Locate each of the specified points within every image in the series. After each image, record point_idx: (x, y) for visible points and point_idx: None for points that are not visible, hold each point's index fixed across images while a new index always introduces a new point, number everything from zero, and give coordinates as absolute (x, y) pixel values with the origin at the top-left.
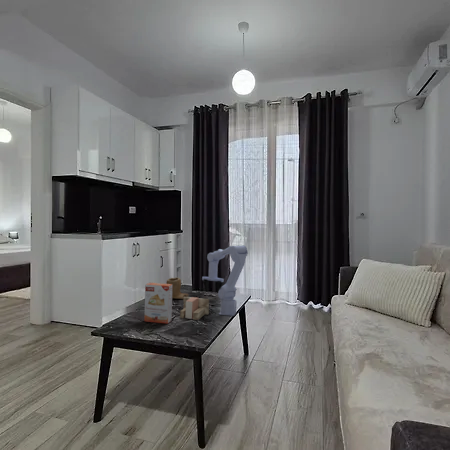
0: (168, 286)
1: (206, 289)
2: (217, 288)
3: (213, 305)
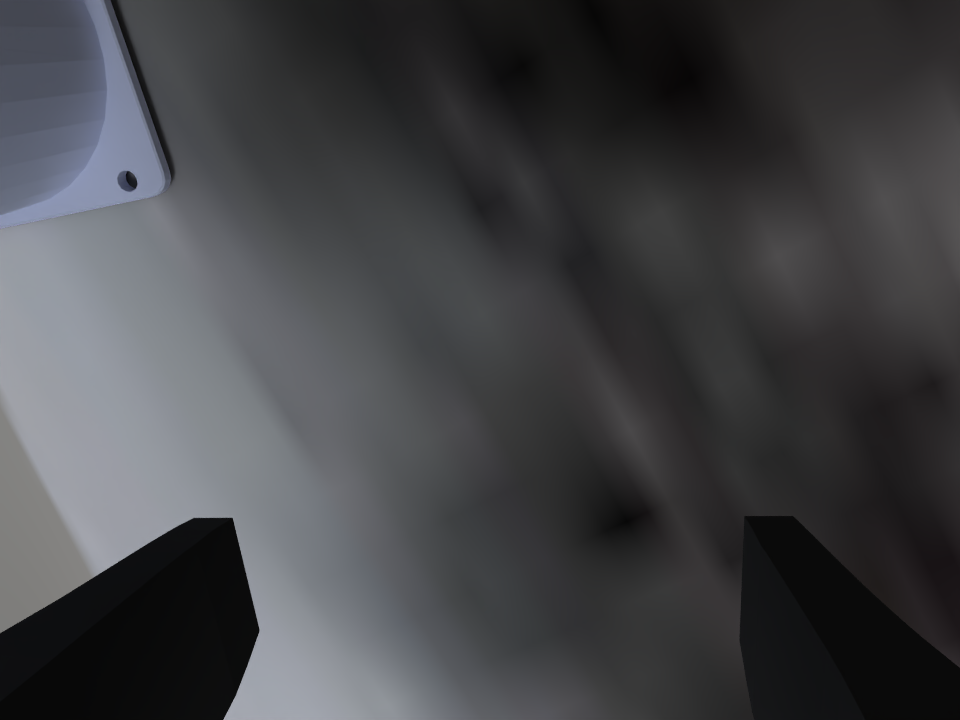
0: None
1: (785, 560)
2: (45, 632)
3: (599, 518)
